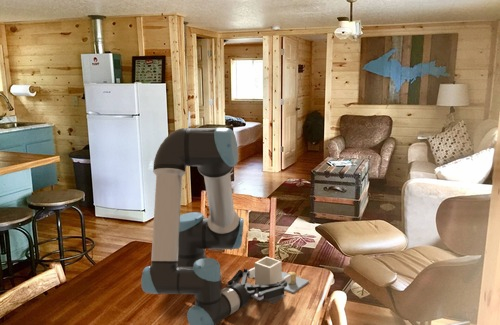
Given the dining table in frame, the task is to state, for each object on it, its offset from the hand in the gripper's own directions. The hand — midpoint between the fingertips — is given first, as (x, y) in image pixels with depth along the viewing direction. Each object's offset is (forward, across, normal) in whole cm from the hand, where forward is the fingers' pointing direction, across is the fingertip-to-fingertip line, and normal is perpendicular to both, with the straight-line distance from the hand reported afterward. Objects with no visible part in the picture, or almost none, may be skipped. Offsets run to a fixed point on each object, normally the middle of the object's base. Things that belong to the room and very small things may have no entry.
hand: (274, 272), depth 143 cm
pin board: (+7, -3, -7) cm, 11 cm away
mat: (-4, 0, -7) cm, 8 cm away
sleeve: (-4, 0, -7) cm, 8 cm away
